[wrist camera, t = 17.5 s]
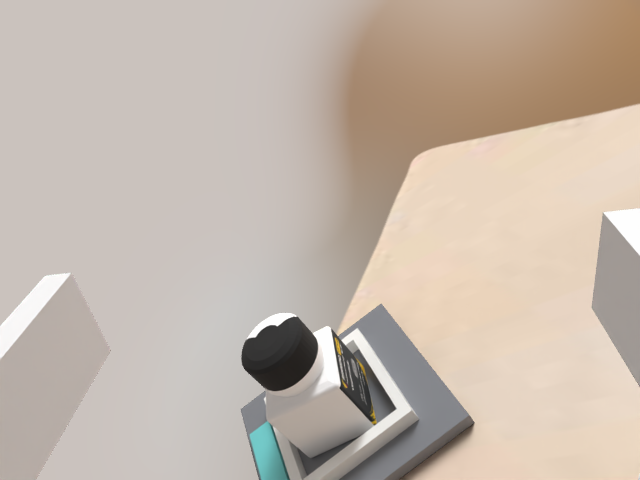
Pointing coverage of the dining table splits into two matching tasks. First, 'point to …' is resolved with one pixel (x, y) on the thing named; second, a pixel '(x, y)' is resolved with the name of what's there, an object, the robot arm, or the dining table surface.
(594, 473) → the dining table surface
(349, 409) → the medicine bottle
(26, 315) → the robot arm
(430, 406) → the dock
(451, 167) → the dining table surface
